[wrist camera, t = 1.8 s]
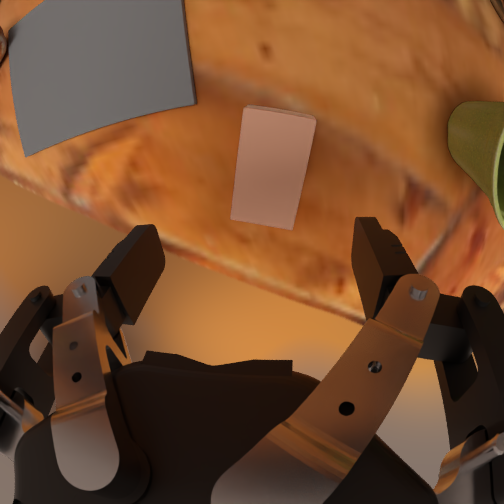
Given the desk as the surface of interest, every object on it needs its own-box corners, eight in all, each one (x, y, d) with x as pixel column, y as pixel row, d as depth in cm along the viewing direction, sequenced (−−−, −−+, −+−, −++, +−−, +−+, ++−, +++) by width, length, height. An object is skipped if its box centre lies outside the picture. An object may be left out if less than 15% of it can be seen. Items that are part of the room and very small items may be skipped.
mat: (178, -63, 9) (175, -66, 8) (197, 103, 18) (194, 104, 17) (12, 30, 12) (8, 30, 11) (29, 155, 21) (25, 157, 20)
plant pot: (406, 133, 17) (469, 171, 10) (466, 59, 12) (540, 66, 5) (466, 206, 19) (518, 263, 12) (518, 140, 14) (580, 176, 7)
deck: (312, 114, 18) (316, 120, 15) (292, 211, 22) (292, 230, 20) (250, 104, 18) (243, 107, 15) (237, 202, 22) (230, 219, 20)
